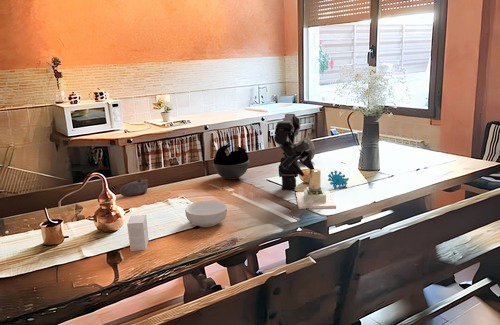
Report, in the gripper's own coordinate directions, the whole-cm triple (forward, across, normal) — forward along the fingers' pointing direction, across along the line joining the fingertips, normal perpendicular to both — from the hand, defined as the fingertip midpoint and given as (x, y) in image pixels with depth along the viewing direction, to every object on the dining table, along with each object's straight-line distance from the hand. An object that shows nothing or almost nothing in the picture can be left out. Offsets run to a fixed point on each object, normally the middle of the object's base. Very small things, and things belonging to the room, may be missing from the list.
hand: (308, 173), depth 196 cm
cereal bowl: (-5, -47, +23) cm, 52 cm away
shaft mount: (+11, 0, +7) cm, 13 cm away
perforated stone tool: (-46, -38, +64) cm, 88 cm away
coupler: (+10, 0, +6) cm, 12 cm away
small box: (-9, -76, +28) cm, 81 cm away
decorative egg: (-18, +59, +35) cm, 71 cm away
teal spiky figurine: (+11, +24, +7) cm, 27 cm away
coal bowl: (-29, +8, +47) cm, 56 cm away
